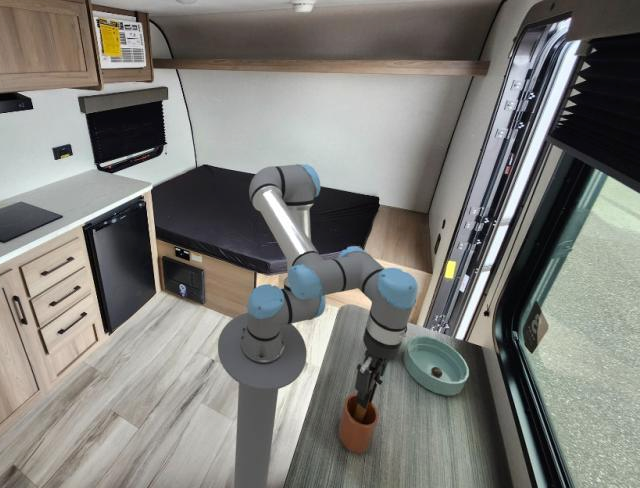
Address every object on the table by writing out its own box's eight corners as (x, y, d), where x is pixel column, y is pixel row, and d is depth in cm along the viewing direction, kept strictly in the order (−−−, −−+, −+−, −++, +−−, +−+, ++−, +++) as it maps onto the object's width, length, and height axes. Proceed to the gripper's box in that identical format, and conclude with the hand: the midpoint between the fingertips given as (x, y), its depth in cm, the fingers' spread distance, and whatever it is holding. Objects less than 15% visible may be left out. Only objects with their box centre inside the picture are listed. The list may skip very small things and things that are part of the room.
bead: (428, 374, 101) (431, 368, 99) (432, 369, 102) (434, 363, 101) (438, 381, 98) (441, 375, 97) (442, 376, 100) (444, 369, 99)
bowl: (393, 365, 104) (398, 353, 101) (416, 340, 114) (421, 327, 111) (450, 408, 91) (456, 395, 89) (470, 375, 101) (476, 362, 99)
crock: (331, 432, 85) (338, 406, 80) (349, 413, 89) (356, 387, 85) (358, 461, 79) (367, 434, 74) (375, 438, 84) (384, 412, 79)
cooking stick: (349, 433, 84) (364, 378, 75) (352, 429, 85) (368, 374, 76) (355, 439, 83) (371, 384, 74) (358, 434, 84) (375, 380, 75)
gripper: (382, 363, 62) (360, 434, 71) (415, 327, 71) (392, 395, 80) (349, 338, 68) (333, 407, 77) (384, 307, 76) (366, 373, 85)
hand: (363, 401), depth 78 cm, fingers closed on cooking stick, 2 cm apart
